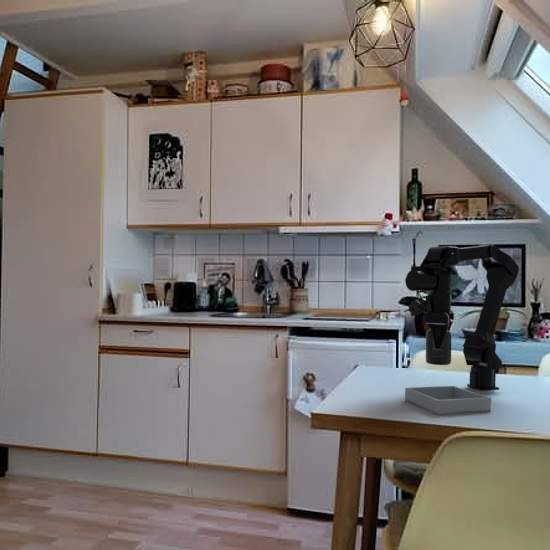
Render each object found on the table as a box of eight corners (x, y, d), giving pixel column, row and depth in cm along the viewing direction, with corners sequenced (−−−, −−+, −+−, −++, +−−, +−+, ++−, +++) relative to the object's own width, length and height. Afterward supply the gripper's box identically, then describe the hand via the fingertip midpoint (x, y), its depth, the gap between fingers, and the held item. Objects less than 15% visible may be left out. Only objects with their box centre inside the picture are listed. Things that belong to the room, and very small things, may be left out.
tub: (453, 398, 139) (454, 385, 139) (490, 412, 125) (490, 398, 125) (405, 401, 135) (405, 387, 135) (437, 415, 121) (437, 400, 121)
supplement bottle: (456, 363, 145) (456, 320, 144) (441, 366, 140) (442, 322, 140) (434, 360, 150) (435, 318, 150) (420, 362, 146) (421, 320, 146)
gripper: (416, 290, 157) (415, 341, 157) (405, 291, 140) (403, 349, 140) (454, 291, 152) (454, 344, 152) (448, 292, 135) (447, 352, 135)
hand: (439, 347), depth 145 cm, fingers closed on supplement bottle, 7 cm apart
